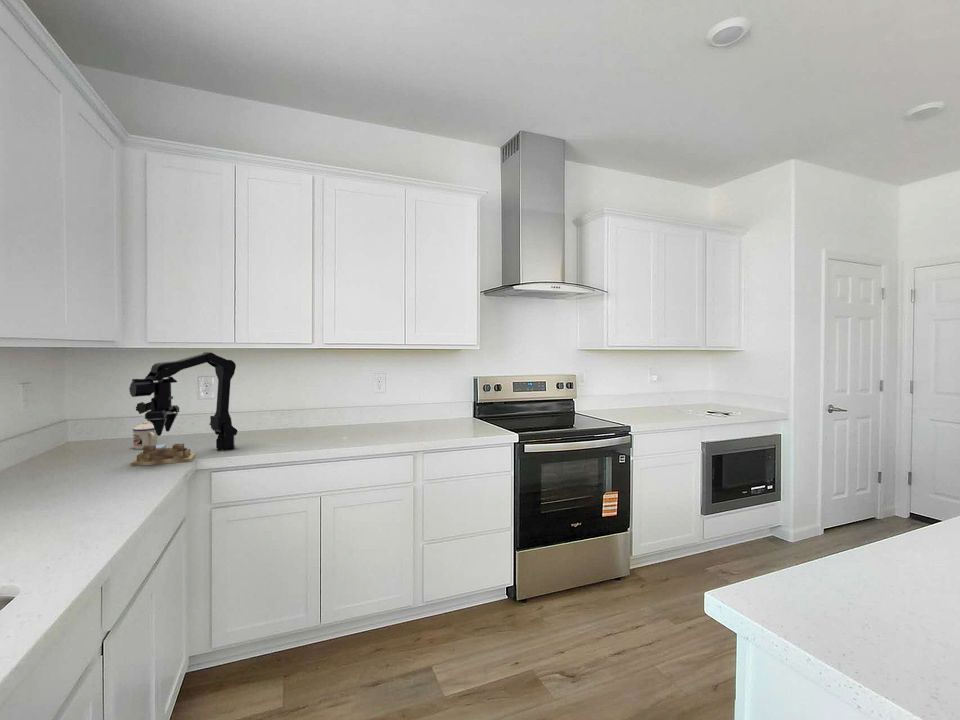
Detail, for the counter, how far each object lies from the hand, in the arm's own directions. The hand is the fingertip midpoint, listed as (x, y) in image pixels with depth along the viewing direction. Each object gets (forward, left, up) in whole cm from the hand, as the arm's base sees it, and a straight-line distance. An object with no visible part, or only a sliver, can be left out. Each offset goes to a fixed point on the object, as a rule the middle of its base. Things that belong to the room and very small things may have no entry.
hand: (163, 433), depth 185 cm
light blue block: (+4, -11, -11) cm, 16 cm away
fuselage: (0, +1, -10) cm, 10 cm away
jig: (0, +1, -11) cm, 11 cm away
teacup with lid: (+13, -30, -11) cm, 34 cm away
